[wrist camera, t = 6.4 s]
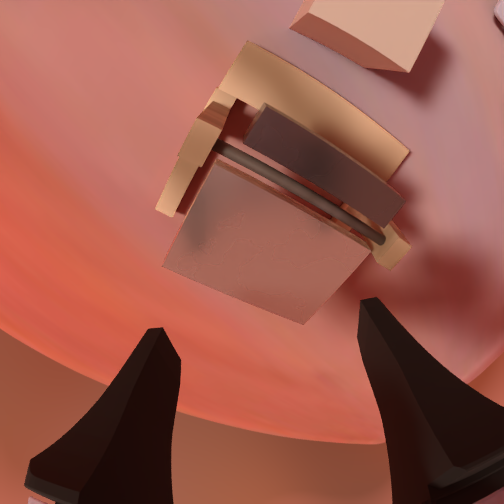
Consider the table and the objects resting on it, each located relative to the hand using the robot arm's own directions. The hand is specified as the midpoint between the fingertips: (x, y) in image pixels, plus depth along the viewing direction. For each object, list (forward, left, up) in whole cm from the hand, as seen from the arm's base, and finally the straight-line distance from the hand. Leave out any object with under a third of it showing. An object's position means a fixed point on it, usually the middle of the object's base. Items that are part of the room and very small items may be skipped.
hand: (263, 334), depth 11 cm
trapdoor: (0, -4, -4) cm, 6 cm away
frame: (0, -4, -10) cm, 11 cm away
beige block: (+2, -13, -10) cm, 16 cm away
